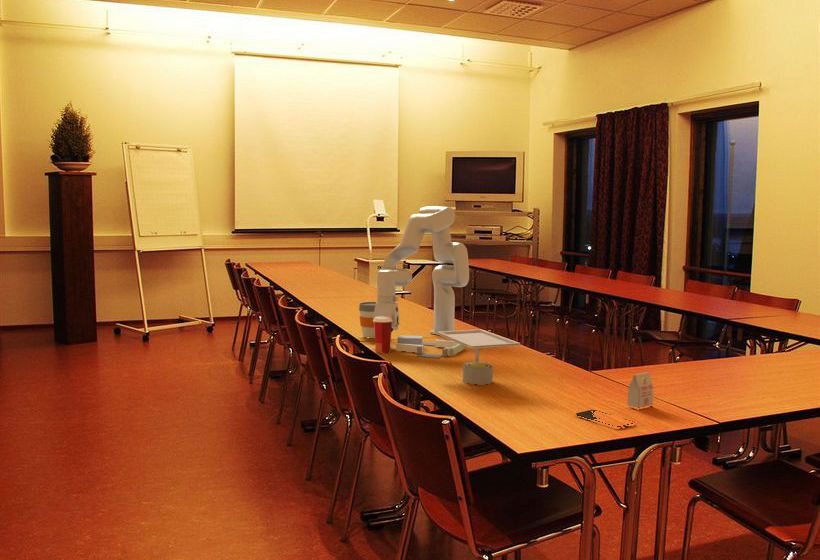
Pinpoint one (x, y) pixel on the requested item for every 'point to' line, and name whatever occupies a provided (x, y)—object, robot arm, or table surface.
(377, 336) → the paper cup
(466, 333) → the solar panel model
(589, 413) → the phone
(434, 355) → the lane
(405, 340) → the block
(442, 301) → the robot arm
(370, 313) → the reusable coffee cup
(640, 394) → the grey tall gabled block
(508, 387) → the table surface
